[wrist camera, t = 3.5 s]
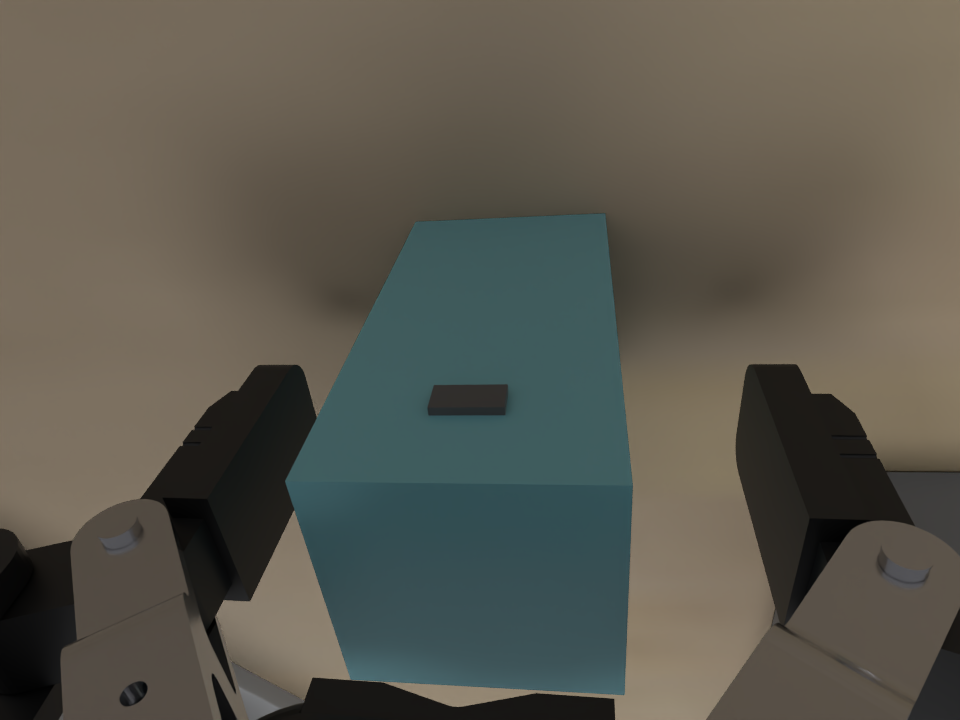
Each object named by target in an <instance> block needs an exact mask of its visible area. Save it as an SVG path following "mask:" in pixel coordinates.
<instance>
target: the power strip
mask: <svg viewBox="0 0 960 720" xmlns="http://www.w3.org/2000/svg"><path fill="white" fill-rule="evenodd" d="M886 473H887V474H888V476H889V478H890V480H891V482H892V484H893V486H894V487H895V489H896V491H897V493H898V495H899V497H900V499H901V501H902V502H903V504H904V506H905V508H906V510H907V512H908V514H909V515H910V517H911V519H912V521H913V523H914V525H915V527H917V528H920V529H923V530H925V531H927V532H929V533H931V534H933V535H934V536H936V537H938V538H939V539H941V540H942V541H944V542H945V543H946V544H947V545H949V546H950V547H951V548H952V549H953V550H954V551H955V552H956V553H957V554H958V555H959V556H960V473H939V472H886ZM776 623H780V622H779V619H778V615H777V611H776V609H775V614H774V618H773V623H772V626H773V625H774V624H776Z"/></svg>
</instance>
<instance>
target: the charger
mask: <svg viewBox="0 0 960 720" xmlns="http://www.w3.org/2000/svg"><path fill="white" fill-rule="evenodd" d="M285 483H286V486H287V489H288V492H289V495H290V498H291V501H292V504H293V507H294V510H295V513H296V516H297V519H298V522H299V525H300V528H301V531H302V534H303V537H304V540H305V543H306V546H307V549H308V552H309V555H310V558H311V561H312V564H313V567H314V570H315V573H316V576H317V579H318V582H319V585H320V588H321V591H322V594H323V597H324V600H325V603H326V606H327V609H328V612H329V615H330V618H331V621H332V624H333V627H334V630H335V633H336V636H337V639H338V642H339V645H340V648H341V651H342V654H343V657H344V660H345V663H346V666H347V669H348V672H349V675H350V678H351V680H365V681H383V682H401V683H419V684H437V685H454V686H472V687H490V688H508V689H526V690H544V691H561V692H579V693H597V694H615V695H624V694H625V668H626V643H627V618H628V593H629V568H630V543H631V517H632V492H633V483H632V473H631V463H630V453H629V444H628V434H627V424H626V414H625V404H624V394H623V384H622V374H621V364H620V355H619V345H618V335H617V325H616V315H615V305H614V295H613V285H612V275H611V266H610V256H609V246H608V236H607V226H606V216H605V213H600V214H578V215H555V216H533V217H510V218H488V219H466V220H443V221H421V222H415V224H414V226H413V228H412V230H411V232H410V234H409V236H408V238H407V240H406V242H405V244H404V246H403V248H402V250H401V252H400V254H399V256H398V258H397V260H396V262H395V264H394V266H393V268H392V270H391V272H390V274H389V276H388V278H387V280H386V282H385V284H384V286H383V288H382V290H381V292H380V294H379V296H378V298H377V300H376V302H375V304H374V306H373V308H372V310H371V312H370V313H369V315H368V317H367V319H366V321H365V323H364V325H363V327H362V329H361V331H360V333H359V335H358V337H357V339H356V341H355V343H354V345H353V347H352V349H351V351H350V353H349V355H348V357H347V359H346V361H345V363H344V365H343V367H342V369H341V371H340V373H339V375H338V377H337V379H336V381H335V383H334V385H333V387H332V389H331V391H330V393H329V395H328V397H327V399H326V401H325V403H324V405H323V407H322V409H321V411H320V413H319V415H318V417H317V419H316V421H315V423H314V425H313V427H312V429H311V431H310V433H309V435H308V437H307V439H306V441H305V443H304V445H303V447H302V449H301V451H300V453H299V455H298V457H297V459H296V461H295V463H294V465H293V466H292V468H291V470H290V472H289V474H288V476H287V478H286V480H285Z"/></svg>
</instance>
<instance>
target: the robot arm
mask: <svg viewBox="0 0 960 720" xmlns="http://www.w3.org/2000/svg"><path fill="white" fill-rule="evenodd" d="M316 419H317V418H316V414H315V410H314V407H313V403H312V399H311V396H310V392H309V388H308V385H307V381H306V377H305V374H304V372H303V370H302V368H301V367H300V366H298V365H258V366H257V367H255V368H254V370H253V371H252V372H251V374H250V375H249V377H248V378H247V379H246V381H245V382H244V384H243V385H242V386H241V388H240V389H239V391H231V392H229V393H228V394H227V395H225V396H224V397H222V398H221V399H220V400H218V401H217V402H216V403H214V404H213V405H212V406H210V407H209V408H208V409H207V410H206V412H205V413H204V414H203V416H202V417H201V418H200V420H199V421H198V422H197V424H196V425H195V426H194V427H195V430H192V431H191V432H190V433H189V435H188V436H187V437H186V439H185V440H184V441H183V446H180V447H179V448H178V449H177V451H176V452H175V453H174V455H173V456H172V457H171V459H170V460H169V461H168V463H167V464H166V465H165V467H164V468H163V469H162V471H161V472H160V473H159V475H158V476H157V477H156V479H155V480H154V481H153V483H152V484H151V485H150V487H149V488H148V489H147V491H146V492H145V493H144V495H143V496H142V497H141V499H137V500H130V501H126V502H122V503H119V504H116V505H114V506H112V507H110V508H107V509H106V510H104V511H102V512H100V513H99V514H97V515H96V516H94V517H93V518H92V519H90V520H89V521H88V522H87V523H86V524H85V525H84V526H83V527H82V528H81V529H80V530H79V531H78V533H77V534H76V536H75V537H74V539H73V540H72V541H68V542H63V543H58V544H54V545H49V546H44V547H40V548H35V549H31V550H25V549H24V547H23V546H22V544H21V543H20V541H19V540H18V538H17V537H16V535H15V534H14V533H13V532H11V531H9V530H6V529H0V720H59V718H60V717H61V715H62V713H63V720H249V718H248V716H247V713H246V710H245V707H244V703H243V700H242V697H241V693H240V690H239V686H238V683H237V680H236V676H235V673H234V669H233V666H232V663H231V659H230V656H229V652H228V649H227V646H226V642H225V639H224V635H223V632H222V629H221V625H220V623H219V621H218V618H217V616H216V614H217V612H218V610H219V608H220V606H221V604H222V602H223V600H233V601H250V600H251V598H252V596H253V594H254V592H255V590H256V588H257V586H258V584H259V582H260V579H261V577H262V575H263V573H264V571H265V569H266V567H267V565H268V563H269V561H270V559H271V557H272V555H273V552H274V550H275V548H276V546H277V544H278V542H279V540H280V538H281V536H282V534H283V532H284V530H285V527H286V525H287V523H288V521H289V519H290V517H291V515H292V513H293V511H294V507H293V504H292V501H291V498H290V495H289V492H288V489H287V486H286V483H285V480H286V478H287V476H288V474H289V472H290V470H291V468H292V466H293V465H294V463H295V461H296V459H297V457H298V455H299V453H300V451H301V449H302V447H303V445H304V443H305V441H306V439H307V437H308V435H309V433H310V431H311V429H312V427H313V425H314V423H315V421H316ZM876 455H877V454H876V452H875V450H874V448H873V446H872V444H871V443H870V441H869V440H867V435H866V433H865V431H864V430H863V428H862V426H861V424H860V422H859V420H858V418H857V416H856V415H855V413H854V412H853V411H851V410H850V409H849V408H848V407H846V406H845V405H844V404H843V403H841V402H840V401H839V400H838V399H837V398H835V397H834V396H833V395H832V394H811V392H810V390H809V388H808V385H807V383H806V381H805V379H804V377H803V375H802V373H801V371H800V369H799V367H798V366H797V365H796V364H751V365H749V366H748V367H747V370H746V374H745V380H744V387H743V393H742V400H741V407H740V414H739V420H738V427H737V434H736V461H737V468H738V472H739V476H740V480H741V483H742V487H743V491H744V494H745V498H746V502H747V505H748V509H749V513H750V516H751V520H752V524H753V527H754V531H755V535H756V538H757V542H758V546H759V549H760V553H761V557H762V560H763V564H764V567H765V571H766V575H767V578H768V582H769V586H770V589H771V593H772V597H773V600H774V604H775V608H776V611H777V615H778V619H779V622H780V623H776V624H774V625H773V626H772V627H771V628H770V629H769V630H768V632H767V633H766V634H765V636H764V637H763V638H762V640H761V641H760V643H759V644H758V646H757V647H756V648H755V650H754V651H753V653H752V654H751V656H750V657H749V659H748V660H747V661H746V663H745V664H744V666H743V667H742V669H741V670H740V671H739V673H738V674H737V676H736V677H735V679H734V680H733V682H732V683H731V684H730V686H729V687H728V689H727V690H726V692H725V693H724V695H723V696H722V697H721V699H720V700H719V702H718V703H717V705H716V706H715V708H714V709H713V710H712V712H711V713H710V715H709V716H708V718H707V719H706V720H960V556H959V555H958V554H957V553H956V552H955V551H954V550H953V549H952V548H951V547H950V546H949V545H947V544H946V543H945V542H944V541H942V540H941V539H939V538H938V537H936V536H934V535H933V534H931V533H929V532H927V531H925V530H923V529H920V528H917V527H915V525H914V523H913V521H912V519H911V517H910V515H909V514H908V512H907V510H906V508H905V506H904V504H903V502H902V501H901V499H900V497H899V495H898V493H897V491H896V489H895V487H894V486H893V484H892V482H891V480H890V478H889V476H888V474H887V473H886V471H885V469H884V467H883V465H882V463H881V461H880V459H877V457H876ZM257 720H615V705H614V699H610V698H595V697H581V696H567V695H552V694H538V693H536V694H530V695H525V696H519V697H514V698H508V699H503V700H497V701H492V702H486V703H481V704H475V705H470V706H464V707H452V706H448V705H445V704H442V703H439V702H436V701H433V700H431V699H428V698H425V697H422V696H419V695H417V694H414V693H411V692H408V691H405V690H402V689H400V688H397V687H394V686H391V685H388V684H385V683H381V682H367V681H352V680H338V679H324V678H312V681H311V684H310V687H309V690H308V692H307V695H306V698H305V701H304V703H298V704H295V705H291V706H288V707H285V708H282V709H279V710H276V711H274V712H272V713H269V714H267V715H265V716H263V717H260V718H259V719H257Z"/></svg>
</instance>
